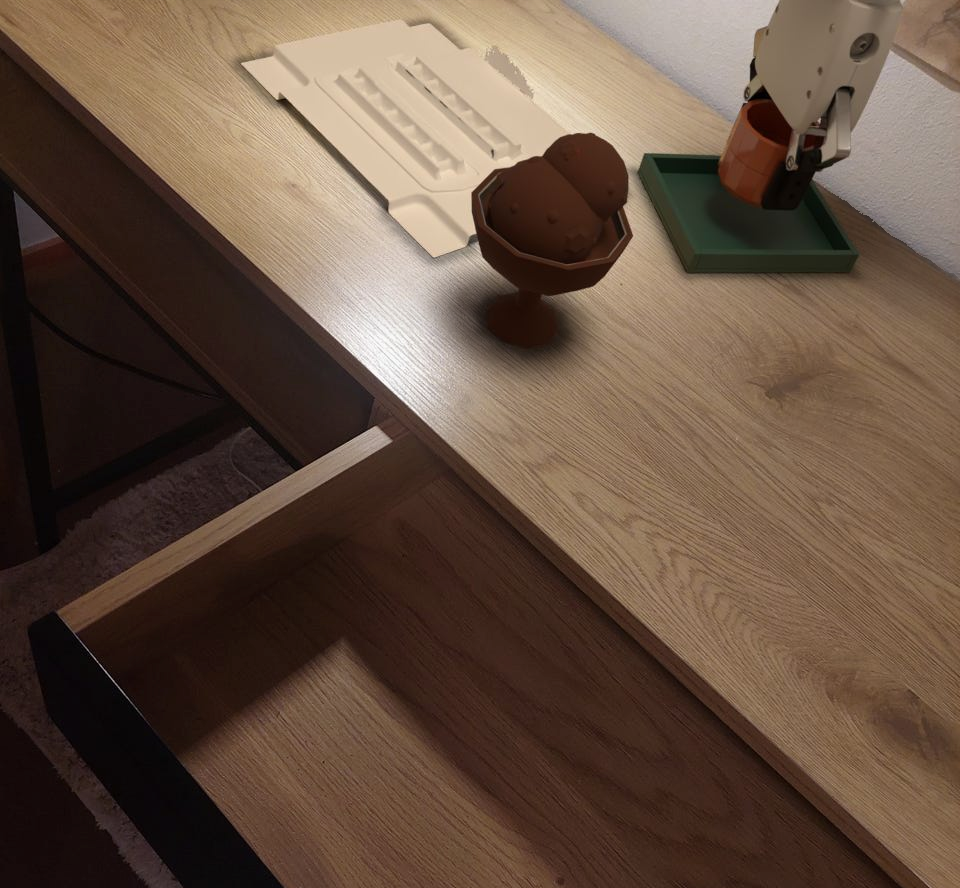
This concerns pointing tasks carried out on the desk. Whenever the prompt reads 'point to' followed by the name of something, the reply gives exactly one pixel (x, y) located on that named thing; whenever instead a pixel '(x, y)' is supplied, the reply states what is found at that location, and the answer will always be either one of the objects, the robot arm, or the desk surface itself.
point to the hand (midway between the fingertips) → (760, 176)
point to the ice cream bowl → (550, 230)
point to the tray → (413, 117)
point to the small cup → (756, 150)
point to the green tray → (741, 223)
